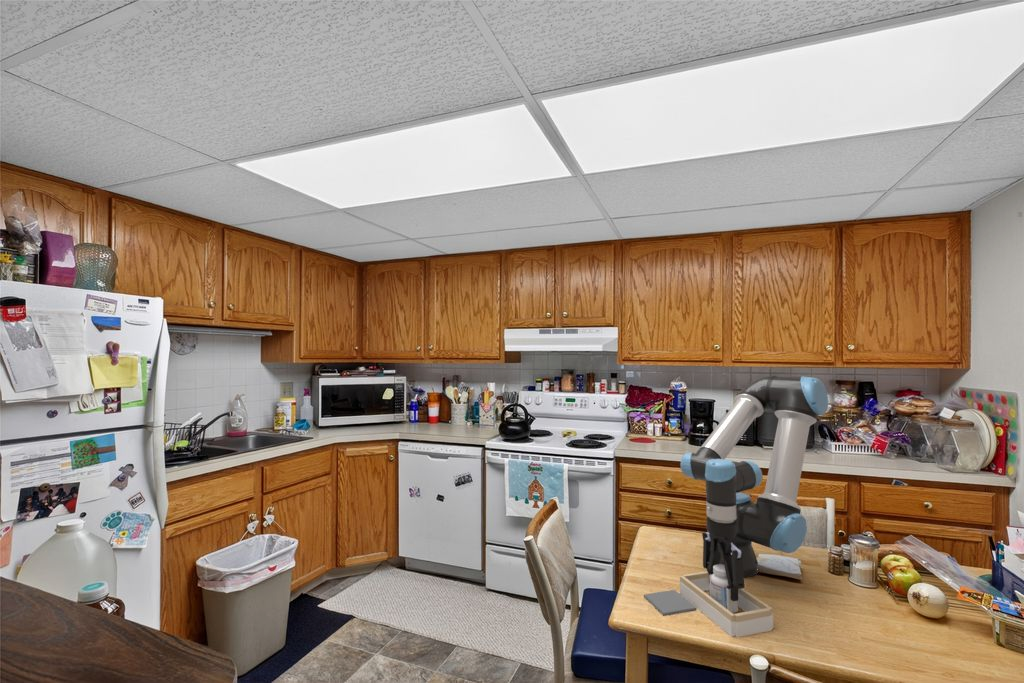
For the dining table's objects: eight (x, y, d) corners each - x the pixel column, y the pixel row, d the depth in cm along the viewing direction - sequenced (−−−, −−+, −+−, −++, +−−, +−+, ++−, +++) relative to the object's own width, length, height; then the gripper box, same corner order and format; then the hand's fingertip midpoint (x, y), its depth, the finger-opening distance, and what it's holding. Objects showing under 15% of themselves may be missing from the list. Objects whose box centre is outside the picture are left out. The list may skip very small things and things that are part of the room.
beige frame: (715, 586, 139) (715, 569, 139) (775, 629, 118) (774, 609, 118) (678, 592, 136) (678, 575, 136) (733, 638, 115) (732, 617, 115)
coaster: (674, 591, 137) (674, 589, 137) (696, 609, 127) (696, 607, 127) (643, 596, 134) (643, 594, 134) (663, 615, 125) (663, 613, 125)
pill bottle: (734, 605, 129) (733, 564, 129) (737, 618, 123) (736, 574, 123) (710, 602, 131) (709, 561, 131) (712, 614, 125) (711, 571, 125)
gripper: (687, 508, 136) (689, 589, 135) (734, 532, 117) (736, 626, 117) (710, 505, 138) (712, 585, 137) (759, 529, 119) (762, 622, 119)
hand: (723, 604), depth 127 cm, fingers closed on pill bottle, 6 cm apart
